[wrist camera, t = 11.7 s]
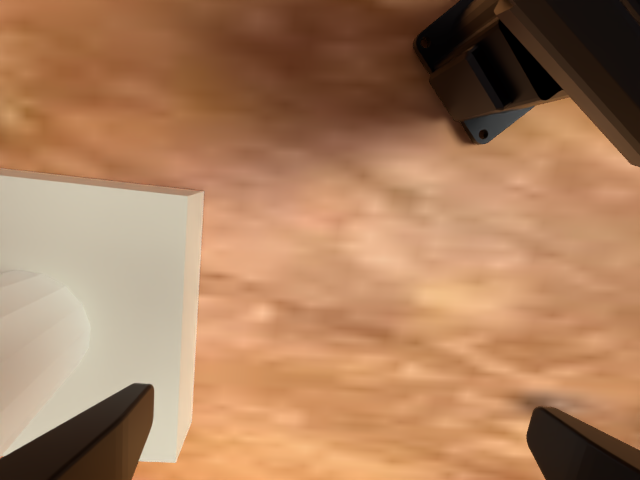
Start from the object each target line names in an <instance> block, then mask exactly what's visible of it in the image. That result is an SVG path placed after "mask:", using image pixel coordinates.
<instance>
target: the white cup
mask: <svg viewBox="0 0 640 480" xmlns="http://www.w3.org/2000/svg"><path fill="white" fill-rule="evenodd" d="M90 327H91V326H90V323H89V321H88V318H87V315H86V313H85V310H84V307H83V305H82V304H81V303H80V301H79V300H78V299H77V298H76V297H75V296H74V295H73V294H72V293H71V292H70V290H69V289H68V288H67V287H66V286H64V285H62V284H60V283H58V282H57V281H55V280H53V279H51V278H49V277H47V276H45V275H43V274H39V273H33V272H27V271H20V270H13V271H8V272H3V273H0V457H1V456H2V455H3V454H4V452H5V451H6V450H7V449H8V448H9V446H10V445H11V444H12V443H13V442H14V441H15V439H16V438H17V437H18V436H19V435H20V433H21V432H22V431H23V430H24V429H25V427H26V426H27V425H28V424H29V423H30V422H31V420H32V419H33V418H34V417H35V416H36V414H37V413H38V412H39V411H40V410H41V409H42V407H43V406H44V405H45V404H46V403H47V401H48V400H49V399H50V398H51V397H52V396H53V394H54V393H55V392H56V391H57V390H58V388H59V387H60V386H61V385H62V384H63V382H64V381H65V380H66V379H67V378H68V377H69V375H70V374H71V373H72V372H73V371H74V369H75V368H76V367H77V366H78V365H79V363H80V361H81V360H82V358H83V356H84V355H85V353H86V351H87V350H88V348H89V340H90Z"/></svg>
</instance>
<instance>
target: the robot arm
mask: <svg viewBox="0 0 640 480" xmlns="http://www.w3.org/2000/svg"><path fill="white" fill-rule="evenodd" d="M422 39H424V40H426V41H427V43H428V46H427V48H424V47H423V46H421V40H422ZM413 48H414V50H415V52H416V54H417V56H418V57H419V59H420V60H421V62H422V63H423V65H424V66H425V68H426V70H427V71H428V73H429V74H430V79H429V82H430V84H431V85H432V87H433V89H434V90H435V92H436V93H437V95H438V96H439V98H440V99H441V101H442V103H443V104H444V106H445V107H446V109H447V110H448V112H449V113H450V115H451V117H452V118H453V120H454V121H459V122H460V123H461V125H462V126H463V128H464V129H465V131H466V132H467V134H468V135H469V137H470V139H471V140H472V141H473V142H474V143H475V144H477V145H479V144H486V143H488V142H489V141H491V140H492V139H493V138H495V137H496V136H497V135H498V134H500V133H501V132H502V131H504V130H505V129H506V128H507V127H509V126H510V125H511V124H513V123H514V122H515V121H516V120H518V119H519V118H520V117H522V116H523V115H524V114H525V113H527V112H528V111H529V110H531V109H532V108H533V107H534V106H536V105H540V104H544V103H548V102H552V101H556V100H561V99H565V98H569V97H570V98H571V99H572V100H573V101H574V102H575V103H576V104H577V105H578V106H579V107H580V109H581V110H582V111H583V112H584V113H585V114H586V115H587V116H588V117H589V118H590V120H591V121H592V122H593V123H594V124H595V125H596V126H597V127H598V128H599V130H600V131H601V132H602V133H603V134H604V135H605V136H606V137H607V138H608V139H609V141H610V142H611V143H612V144H613V145H614V146H615V147H616V148H617V149H618V151H619V152H620V153H621V154H622V155H623V156H624V157H625V158H626V159H627V160H628V162H629V163H630V164H632V165H635V166H638V167H640V0H460V1H459V2H458V3H456V4H455V5H454V6H453V7H452V8H450V9H449V10H448V11H447V12H445V13H444V14H443V15H442V16H441V17H439V18H438V19H437V20H436V21H434V22H433V23H432V24H431V25H429V26H428V27H427V28H426V29H425V30H423V31H422V32H421V33H420V34H419V35H418V36H417V37H416V38H415V40H414V43H413ZM481 130H482V131H483V132H484V137H483V138H482V139H481V138H479V132H480V131H481ZM153 418H154V387H153V385H152V384H145V383H133V384H131V385H129V386H127V387H125V388H124V389H122V390H120V391H118V392H117V393H115V394H113V395H111V396H110V397H108V398H106V399H104V400H103V401H101V402H99V403H97V404H96V405H94V406H92V407H90V408H89V409H87V410H85V411H83V412H81V413H80V414H78V415H76V416H74V417H73V418H71V419H69V420H67V421H66V422H64V423H62V424H60V425H59V426H57V427H55V428H53V429H52V430H50V431H48V432H46V433H44V434H43V435H41V436H39V437H37V438H36V439H34V440H32V441H30V442H29V443H27V444H25V445H23V446H22V447H20V448H18V449H16V450H15V451H13V452H11V453H9V454H7V455H6V456H4V457H2V458H0V480H132V477H133V474H134V472H135V469H136V467H137V464H138V461H139V459H140V456H141V454H142V451H143V448H144V446H145V443H146V441H147V438H148V435H149V433H150V430H151V427H152V423H153ZM527 443H528V446H529V448H530V450H531V452H532V454H533V456H534V458H535V460H536V462H537V464H538V466H539V468H540V470H541V472H542V473H543V475H544V477H545V479H546V480H640V450H638V449H636V448H634V447H632V446H630V445H628V444H626V443H624V442H622V441H620V440H618V439H616V438H614V437H612V436H610V435H608V434H606V433H604V432H602V431H600V430H598V429H596V428H594V427H592V426H590V425H588V424H586V423H584V422H582V421H580V420H578V419H576V418H574V417H572V416H570V415H568V414H566V413H564V412H562V411H560V410H558V409H556V408H554V407H543V406H538V407H536V408H535V409H534V410H533V413H532V417H531V420H530V424H529V427H528V431H527Z"/></svg>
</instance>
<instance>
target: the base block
mask: <svg viewBox="0 0 640 480" xmlns="http://www.w3.org/2000/svg"><path fill="white" fill-rule="evenodd" d="M203 206H204V191H199V190H190V189H181V188H172V187H163V186H154V185H146V184H137V183H128V182H119V181H110V180H101V179H93V178H84V177H75V176H66V175H57V174H48V173H40V172H31V171H22V170H13V169H4V168H0V273H3V272H8V271H13V270H20V271H27V272H33V273H39V274H43V275H45V276H47V277H49V278H51V279H53V280H55V281H57V282H58V283H60V284H62V285H64V286H66V287H67V288H68V289H69V290H70V292H71V293H72V294H73V295H74V296H75V297H76V298H77V299H78V300H79V301H80V303H81V304H82V305H83V307H84V310H85V313H86V315H87V318H88V321H89V323H90V326H91V327H90V340H89V348H88V350H87V351H86V353H85V355H84V356H83V358H82V360H81V361H80V363H79V365H78V366H77V367H76V368H75V369H74V371H73V372H72V373H71V374H70V375H69V377H68V378H67V379H66V380H65V381H64V382H63V384H62V385H61V386H60V387H59V388H58V390H57V391H56V392H55V393H54V394H53V396H52V397H51V398H50V399H49V400H48V401H47V403H46V404H45V405H44V406H43V407H42V409H41V410H40V411H39V412H38V413H37V414H36V416H35V417H34V418H33V419H32V420H31V422H30V423H29V424H28V425H27V426H26V427H25V429H24V430H23V431H22V432H21V433H20V435H19V436H18V437H17V438H16V439H15V441H14V442H13V443H12V444H11V445H10V446H9V448H8V449H7V450H6V451H5V452H4V454H3V455H2V456H6V455H7V454H9V453H11V452H13V451H15V450H16V449H18V448H20V447H22V446H23V445H25V444H27V443H29V442H30V441H32V440H34V439H36V438H37V437H39V436H41V435H43V434H44V433H46V432H48V431H50V430H52V429H53V428H55V427H57V426H59V425H60V424H62V423H64V422H66V421H67V420H69V419H71V418H73V417H74V416H76V415H78V414H80V413H81V412H83V411H85V410H87V409H89V408H90V407H92V406H94V405H96V404H97V403H99V402H101V401H103V400H104V399H106V398H108V397H110V396H111V395H113V394H115V393H117V392H118V391H120V390H122V389H124V388H125V387H127V386H129V385H131V384H133V383H145V384H152V385H153V387H154V418H153V423H152V427H151V430H150V433H149V435H148V438H147V441H146V443H145V446H144V448H143V451H142V454H141V456H140V459H139V461H146V462H173V463H176V461H177V458H178V456H179V453H180V451H181V448H182V446H183V443H184V440H185V438H186V435H187V433H188V430H189V428H190V425H191V423H192V410H193V391H194V373H195V354H196V336H197V317H198V299H199V280H200V262H201V243H202V225H203Z"/></svg>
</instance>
